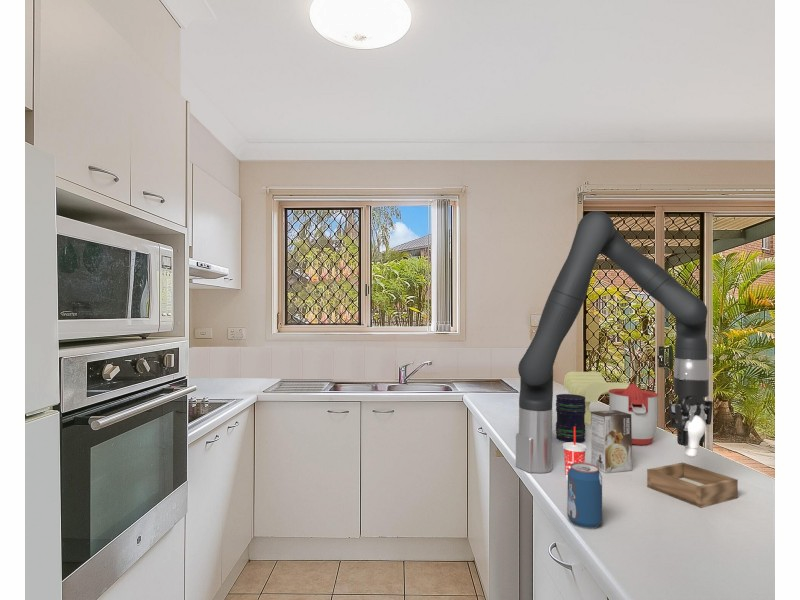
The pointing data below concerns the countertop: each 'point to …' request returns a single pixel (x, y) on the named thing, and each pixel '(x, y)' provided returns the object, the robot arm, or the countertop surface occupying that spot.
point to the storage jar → (570, 417)
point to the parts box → (692, 484)
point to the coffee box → (611, 441)
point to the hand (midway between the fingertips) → (691, 443)
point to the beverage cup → (573, 453)
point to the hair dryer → (589, 387)
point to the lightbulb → (694, 435)
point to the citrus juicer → (637, 411)
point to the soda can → (584, 495)
